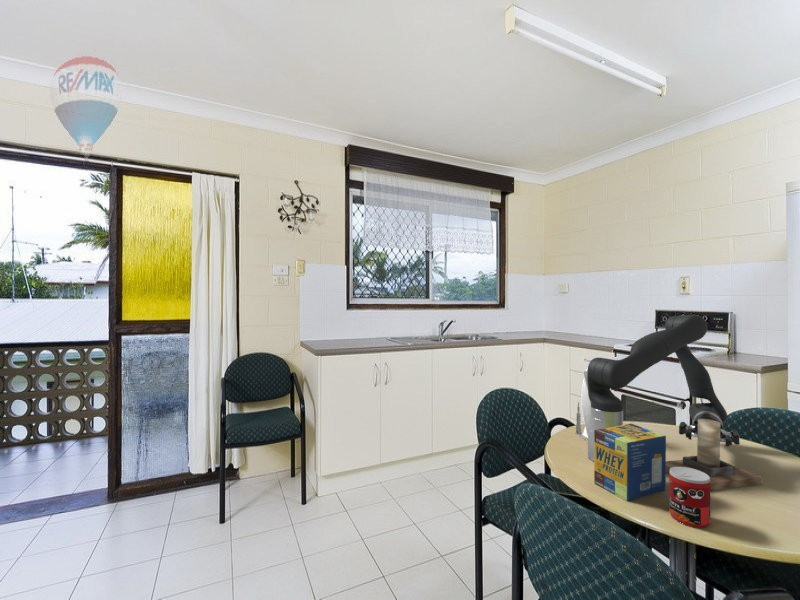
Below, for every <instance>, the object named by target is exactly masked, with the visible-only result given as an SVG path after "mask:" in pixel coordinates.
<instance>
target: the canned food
mask: <svg viewBox="0 0 800 600" xmlns="http://www.w3.org/2000/svg"><path fill="white" fill-rule="evenodd" d="M668 474H669V475H668V477H669V480H668V481H669V482H668V483H669V486H668V487H669V488H668V489H669V494H668V495H669V501H668V502H669V503H668V504H669V507H668V508H669V509H668V511H669V514H670V516H671V518H672V519H673V520H675V521H676V520H677V521H676V522H678V523H680V522H681V523H680V524H682V523H683V524H682V525H684V524H685V525H684V526H687V525H689V526H688V527H691V526H692V528H696V527H698V528H697V529H703V527H704V528H707V527H709V526H710V523H711V502H712V501H711V498H712V497H711V496H712V495H711V491H712V490H711V484H710V477H709V476H708V475H707V474H705V473H704V472H701V471H699V470H696V469H692V468H687V467H672V468H670V471H669V473H668ZM708 525H709V526H708Z"/></svg>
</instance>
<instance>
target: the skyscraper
mask: <svg viewBox="0 0 800 600" xmlns="http://www.w3.org/2000/svg"><path fill="white" fill-rule="evenodd" d="M587 370H588V367H587V368H586V369H583V370H582V375H583V381H582V385H581V391H580V394H581V395H580V402H579V401H578V402H577V413H576V426H575V429H576V431H575V435H577V436H578V435H579V436H578V437H580V438H581V437H582V439H583V440H584V439H585V440H584V441H588V430H589V429H591V402H590V399H589V396H588V382H587ZM580 405H581V410H580ZM580 411H581V412H582V413H581V412H580ZM581 415H582V418H583V425H584V426H583V429H581V428H582V424H581V423H582V422H581ZM585 437H586V438H585ZM586 439H587V440H586Z"/></svg>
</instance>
